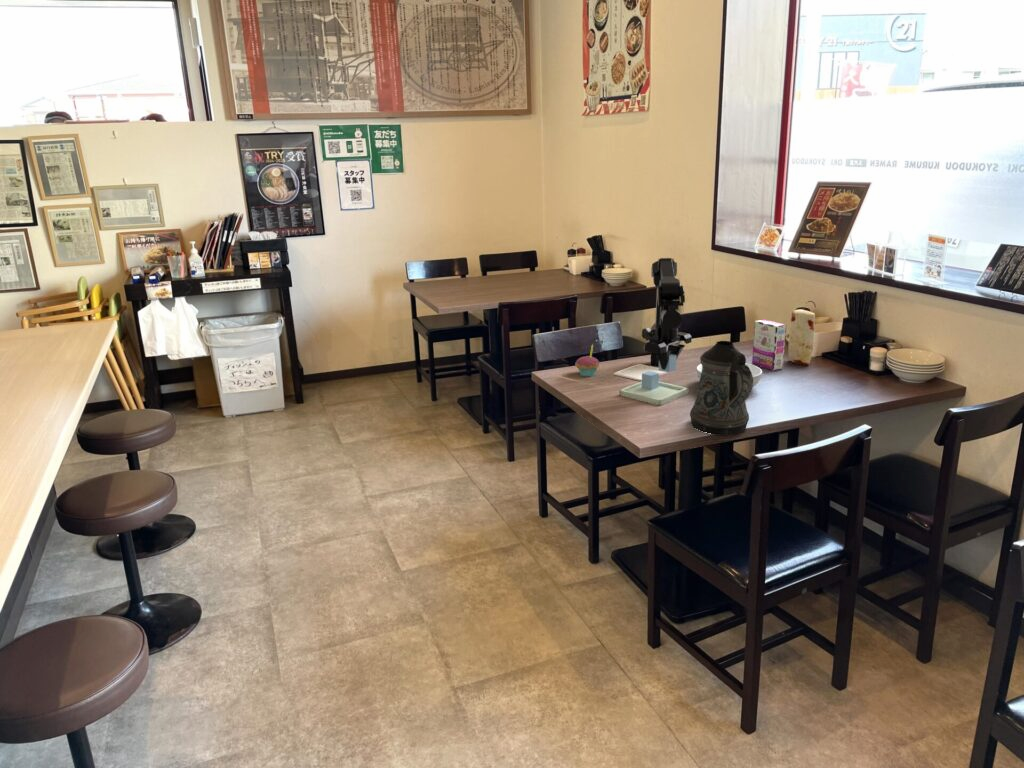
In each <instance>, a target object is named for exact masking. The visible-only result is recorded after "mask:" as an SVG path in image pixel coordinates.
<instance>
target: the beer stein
mask: <svg viewBox="0 0 1024 768" xmlns="http://www.w3.org/2000/svg"><path fill="white" fill-rule="evenodd" d="M734 345H735V344H734V343H733V341H729V340H719V341H716V342H715V344H714V345H713V346H712V347H710V348H708V350H706V351H705V352H703V353H702V354H701V356H700V359H699V361H700V364H702V372H701V377H700V380H699V383H698V388H697V393H696V397H695V399H694V400H695V401H694V403H693V406H692V408H691V409H690V412H689V418H690V424H692V425H691V426H692V427H693V429H694V428H696V429H698V430H697V431H699V430H700V431H699V432H701V431H703V432H707V433H706V434H708V433H711V434H710V435H715V436H716V435H717V436H731V435H737V434H741V433H742V432H744V431H746V429H747V426H748V423H749V420H750V415H749V412H748V409H747V403H746V400H747V399H748V398H749V397H750V395H751V393H752V390H753V388H754V387H753V376H752V373H751V371H750V369H749V367H748V366H747V365H745V363H747V360H746V359H747V358H746V356H745V354H743V353H742V352H741V351H739V349H737V348H736V347H735V346H734ZM696 429H695V430H696ZM703 432H702V433H703Z"/></svg>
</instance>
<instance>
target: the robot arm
mask: <svg viewBox="0 0 1024 768" xmlns="http://www.w3.org/2000/svg"><path fill="white" fill-rule="evenodd" d="M650 270H651V271H650V272H651V273H650V274H651V275H650V276H651V278H652V280H653V281H652V282H653V284H654V286H655V288H656V298H655V299H656V302H655V318H654V319H655V322H654V323H653V325H652V326H651V327H646V328H642V329H641V337H642V339H644V340H645V343H644V345H643V350H644V352H647V353H650V362H648V363H647V366H652V367H657V368H659V362H660V365H661V368H662V369H663V370H665V369H666V366H667V363H668V360H669V356H670V354H675V355H676V361H677V359H678V358H679V356H680V354H681V352H682V351H683V349H684V348H685V347H686V345H688V344H691V343H692V340H693V339H692V338H693V337H692V335H691V334H690V333H687V332H682V331H679V328H681V325H682V315H681V312H680V310H679V308H680V307H683V306H684V303H685V302H686V296H685V294H686V293H685V288H684V286H683V285H682V284H681V280H680V279H679V278H676V277H677V274H678V263H677V262H676V261H675V260H674V258H672V257H660V258H658V260H657V261H655V262H653V263H652V264H651V269H650ZM682 342H684V343H685V344H686V345H685V344H682Z"/></svg>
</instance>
